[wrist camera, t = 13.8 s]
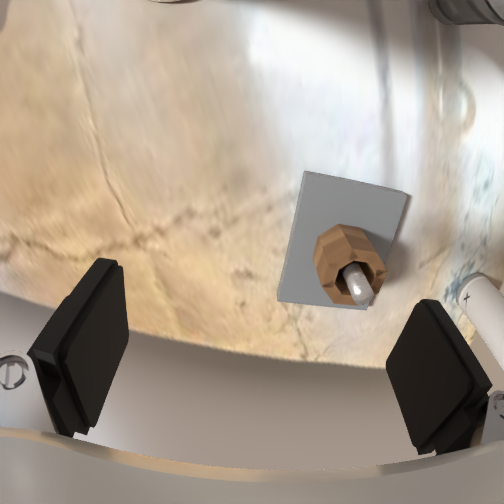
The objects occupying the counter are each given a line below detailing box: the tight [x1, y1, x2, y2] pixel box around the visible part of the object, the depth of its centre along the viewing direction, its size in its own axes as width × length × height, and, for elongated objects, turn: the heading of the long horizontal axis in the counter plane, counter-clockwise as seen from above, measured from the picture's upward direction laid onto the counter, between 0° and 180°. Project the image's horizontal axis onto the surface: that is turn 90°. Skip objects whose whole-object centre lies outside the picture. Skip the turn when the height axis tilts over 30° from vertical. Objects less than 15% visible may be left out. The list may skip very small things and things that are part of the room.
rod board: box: [277, 171, 407, 310], centre depth 37 cm, size 16×12×2 cm
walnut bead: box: [312, 224, 387, 306], centre depth 34 cm, size 6×6×6 cm
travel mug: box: [456, 273, 504, 371], centre depth 32 cm, size 6×7×20 cm
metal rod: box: [340, 261, 374, 305], centre depth 32 cm, size 2×2×9 cm
